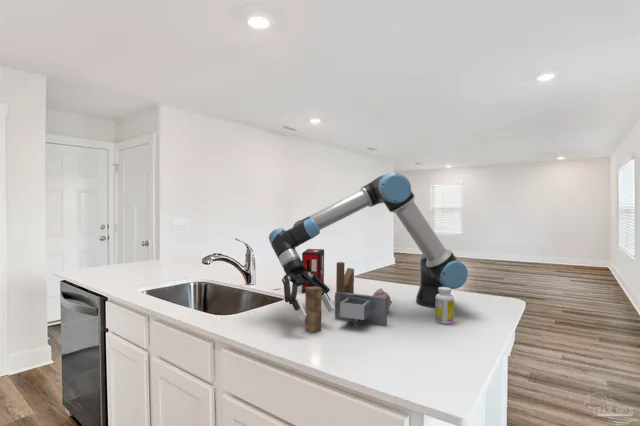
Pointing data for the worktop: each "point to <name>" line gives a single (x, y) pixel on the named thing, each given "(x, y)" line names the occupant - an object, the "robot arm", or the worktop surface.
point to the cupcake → (383, 294)
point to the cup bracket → (361, 308)
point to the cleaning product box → (313, 263)
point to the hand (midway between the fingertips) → (318, 314)
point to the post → (313, 309)
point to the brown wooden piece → (344, 279)
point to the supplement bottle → (444, 306)
